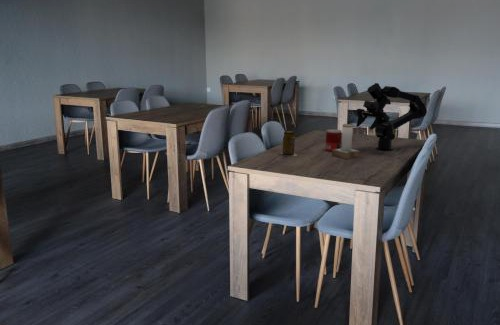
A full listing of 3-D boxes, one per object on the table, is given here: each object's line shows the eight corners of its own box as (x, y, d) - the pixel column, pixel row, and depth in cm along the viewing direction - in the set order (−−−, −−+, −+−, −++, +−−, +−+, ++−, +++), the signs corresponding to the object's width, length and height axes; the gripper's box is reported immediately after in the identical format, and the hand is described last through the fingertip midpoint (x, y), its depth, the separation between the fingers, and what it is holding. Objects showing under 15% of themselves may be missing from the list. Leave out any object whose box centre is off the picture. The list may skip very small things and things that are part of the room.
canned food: (340, 152, 245) (341, 132, 242) (325, 151, 247) (326, 131, 244) (340, 149, 252) (341, 129, 250) (325, 148, 254) (326, 129, 251)
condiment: (291, 152, 244) (292, 130, 241) (298, 155, 236) (299, 132, 233) (279, 153, 242) (279, 130, 239) (285, 156, 234) (286, 133, 231)
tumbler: (349, 148, 238) (351, 124, 235) (352, 151, 233) (354, 125, 230) (339, 148, 238) (341, 124, 235) (342, 151, 233) (344, 125, 230)
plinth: (345, 153, 243) (345, 147, 242) (359, 156, 235) (360, 150, 234) (331, 155, 237) (332, 149, 237) (346, 159, 230) (346, 153, 229)
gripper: (359, 93, 247) (343, 115, 243) (387, 96, 232) (371, 120, 229) (367, 107, 253) (352, 128, 250) (395, 111, 239) (380, 134, 235)
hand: (363, 127), depth 241 cm, fingers open, 9 cm apart
